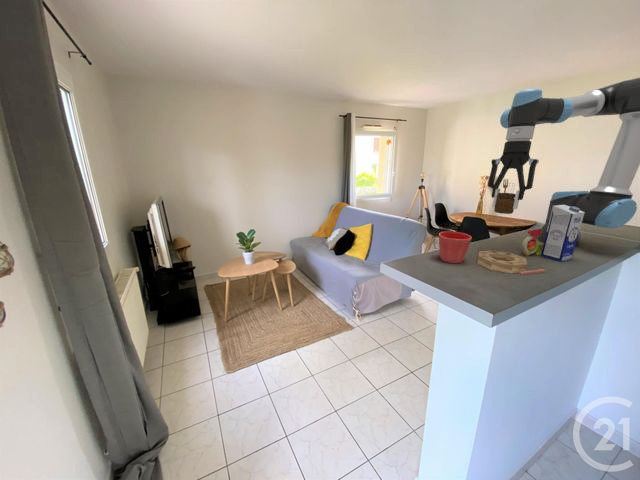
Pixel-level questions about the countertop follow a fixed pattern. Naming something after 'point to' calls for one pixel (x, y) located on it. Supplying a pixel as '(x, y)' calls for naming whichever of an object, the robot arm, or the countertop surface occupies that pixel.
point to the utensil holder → (505, 201)
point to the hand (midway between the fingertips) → (504, 207)
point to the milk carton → (562, 232)
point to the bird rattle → (532, 243)
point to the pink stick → (532, 272)
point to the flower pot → (453, 246)
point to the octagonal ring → (502, 261)
